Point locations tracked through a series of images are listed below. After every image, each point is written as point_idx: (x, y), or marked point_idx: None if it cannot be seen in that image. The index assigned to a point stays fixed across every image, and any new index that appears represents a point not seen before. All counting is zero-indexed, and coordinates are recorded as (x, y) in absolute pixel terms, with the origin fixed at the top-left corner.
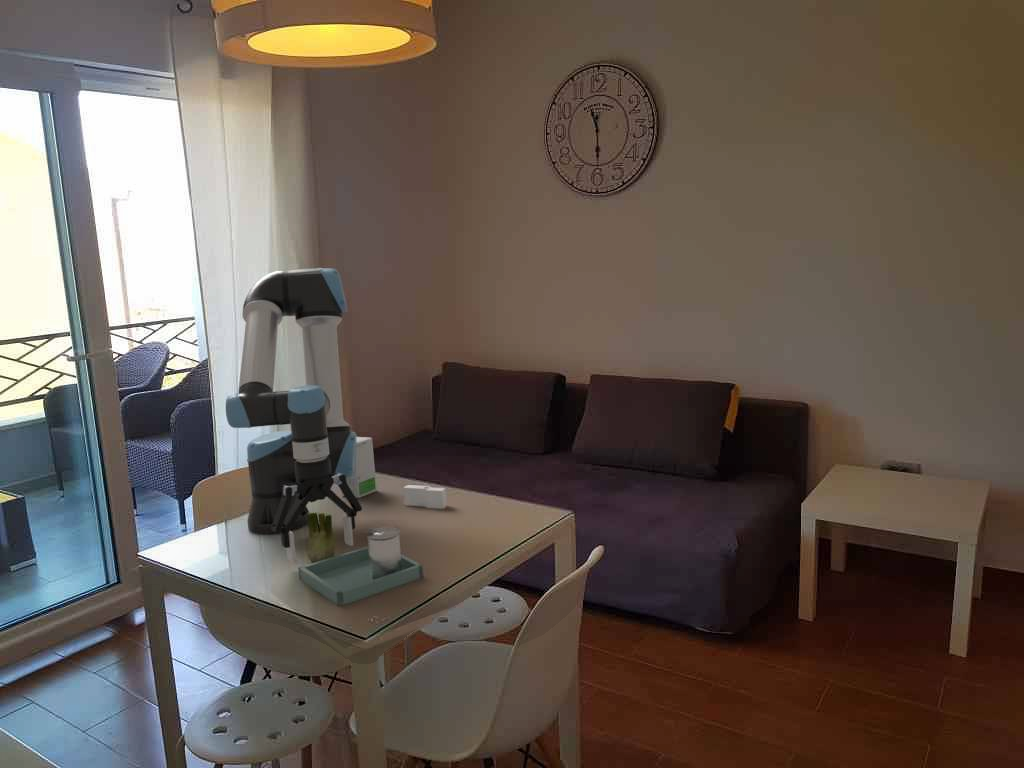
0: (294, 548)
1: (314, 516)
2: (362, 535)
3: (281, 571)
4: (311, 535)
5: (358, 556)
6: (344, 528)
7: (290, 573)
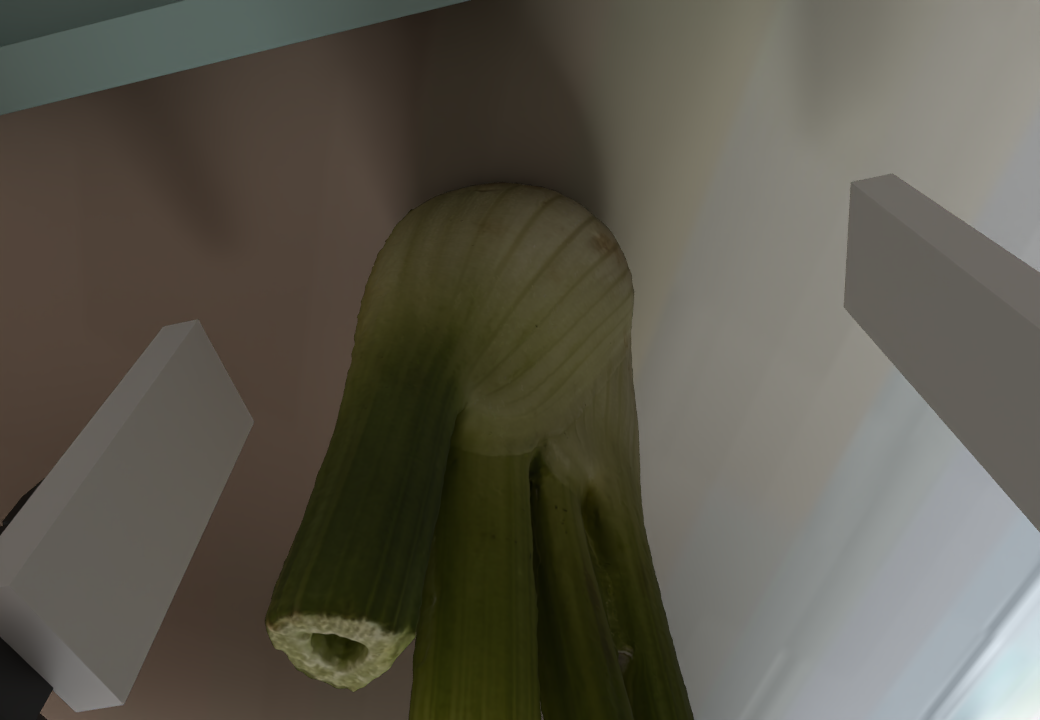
0: (945, 248)
1: (618, 711)
2: None
3: None
4: (628, 476)
5: (119, 16)
6: (185, 526)
7: (816, 224)
